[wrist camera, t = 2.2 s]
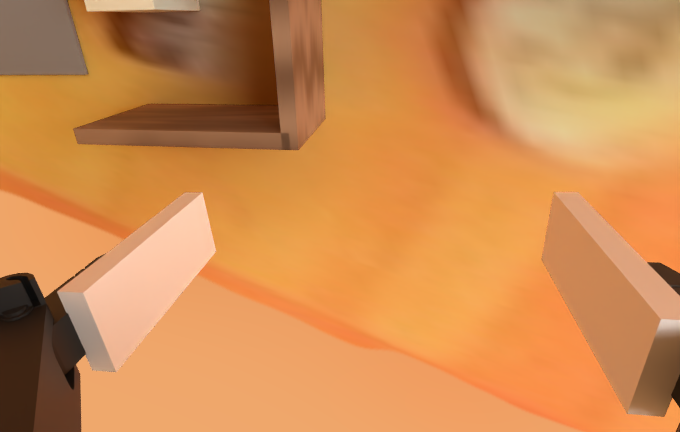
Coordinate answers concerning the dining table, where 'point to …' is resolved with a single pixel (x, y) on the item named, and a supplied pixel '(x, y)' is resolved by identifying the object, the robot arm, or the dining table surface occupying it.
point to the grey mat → (39, 39)
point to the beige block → (141, 5)
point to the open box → (239, 120)
